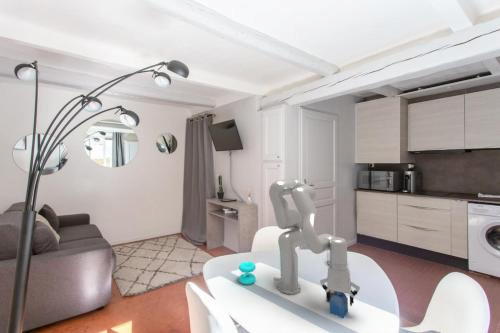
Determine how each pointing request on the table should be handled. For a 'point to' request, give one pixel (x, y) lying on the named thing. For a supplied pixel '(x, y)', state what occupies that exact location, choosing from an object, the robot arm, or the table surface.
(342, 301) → the perfume bottle
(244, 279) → the donuts
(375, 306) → the table surface
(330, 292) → the letter cube
